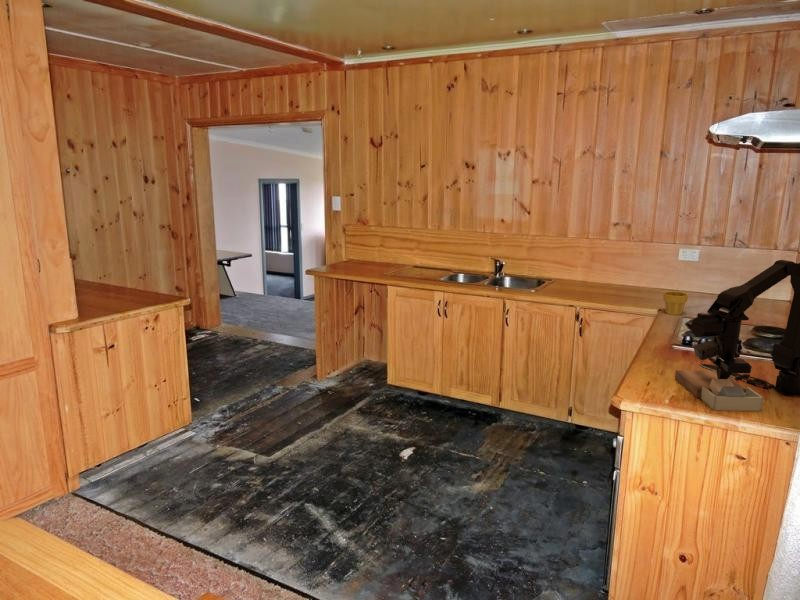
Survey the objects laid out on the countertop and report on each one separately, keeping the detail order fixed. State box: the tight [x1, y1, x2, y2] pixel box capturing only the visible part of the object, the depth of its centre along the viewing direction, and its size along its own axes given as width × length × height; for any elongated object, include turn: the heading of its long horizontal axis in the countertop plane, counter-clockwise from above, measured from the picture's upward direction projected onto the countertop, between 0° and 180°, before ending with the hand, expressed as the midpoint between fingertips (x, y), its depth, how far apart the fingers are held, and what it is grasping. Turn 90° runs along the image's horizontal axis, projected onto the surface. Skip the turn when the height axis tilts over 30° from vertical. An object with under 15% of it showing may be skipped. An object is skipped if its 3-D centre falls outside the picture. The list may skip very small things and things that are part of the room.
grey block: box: [719, 385, 745, 397], centre depth 157 cm, size 5×5×3 cm
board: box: [674, 369, 746, 399], centre depth 171 cm, size 14×16×3 cm
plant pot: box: [662, 291, 689, 316], centre depth 262 cm, size 10×10×10 cm
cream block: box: [709, 379, 733, 396], centre depth 161 cm, size 5×5×3 cm
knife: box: [698, 362, 776, 390], centre depth 182 cm, size 25×6×1 cm, turn 18°
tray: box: [700, 386, 764, 412], centre depth 159 cm, size 13×8×4 cm, turn 85°
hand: (720, 384), depth 164 cm, fingers closed, pressing on cream block
